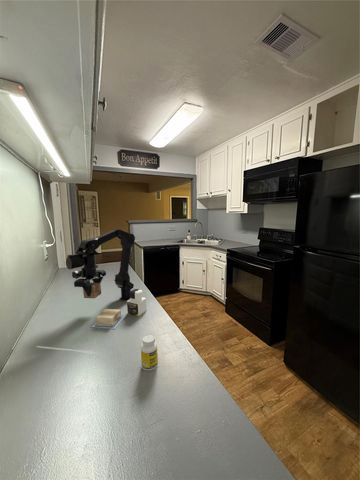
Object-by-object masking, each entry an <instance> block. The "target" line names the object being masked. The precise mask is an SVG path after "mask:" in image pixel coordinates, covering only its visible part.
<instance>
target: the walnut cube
mask: <svg viewBox="0 0 360 480" xmlns="http://www.w3.org/2000/svg"><path fill="white" fill-rule="evenodd" d="M90 284H92V289H91V294H90V296H89V297H88V296H87V294H86V292H85V290H84V289H83V288H82V292H83V293H82V294H83V299H96V298H98V297H99V296H101V294H102V285H101V284H102V283H93V282H90Z"/></svg>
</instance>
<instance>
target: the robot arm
mask: <svg viewBox="0 0 360 480" xmlns="http://www.w3.org/2000/svg"><path fill="white" fill-rule="evenodd" d="M113 239H119V240H120V245H121V248H122V249H121V254H120V255H121V256H120V263H119V272H118V273H116V274H114V279H113V280H114V283H115V285H116V286H117V288H118V289H120V295H121V296H120V297H119V298H118V299H119V300H121V301H122V300H123V301H124V300H125V301H128V300H130V292H131V291H132V290H133V289H134V286H135V284H134V283H132V281H131V278H130V274H129V269H130V257H131V248H133V246H134V244H135V239H136V236H135V235H134V234H133V233H131V232H127V231H124V230H122V229H121V228H113V229H112V230H110V231H108V232H105V233H102V234H101V235H98V236H96V237H91V238H87V239H83V240H81V241H80V243H79V246H78V248H77V250H76V252H75V253H74V254H67V255H66V259H65V265H66V266H65V267H66V268H67V269H68V270H74V269H78V268H81V270H79V271H78V270H74V271H72V272H71V277H72V278H73V279H75V280H74V282H73V286H74V288H82V290H83V289H84V290H85V292H86V294H87V296H88V297H89V296H90V294H91V289H92V284H90V283H91V281H92V283H100V284H102V282H103V279H104V277H105V276H106V275H107V271H106V270H104V269H97V268H99V265H97V261H96V255H97V256H99V254H100V253H99V252H98V251H97V249H99V248H100V247H101V245H103V244H105V243H107V242H110V241H111V240H113Z"/></svg>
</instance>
